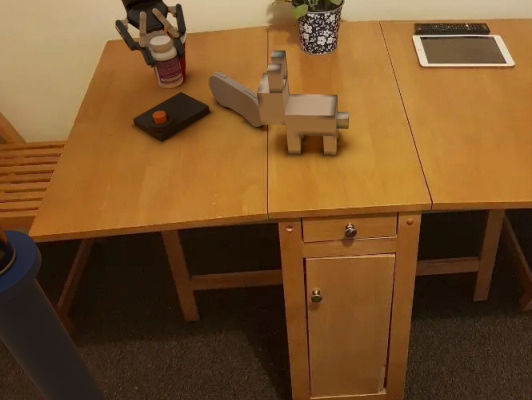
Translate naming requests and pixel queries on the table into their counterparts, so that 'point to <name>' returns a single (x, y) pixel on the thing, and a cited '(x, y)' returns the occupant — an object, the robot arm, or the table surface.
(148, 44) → the plastic cup
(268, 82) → the toy llama
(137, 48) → the robot arm
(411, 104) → the table surface
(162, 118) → the button
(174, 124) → the scale
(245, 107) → the game controller
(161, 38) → the pill bottle
